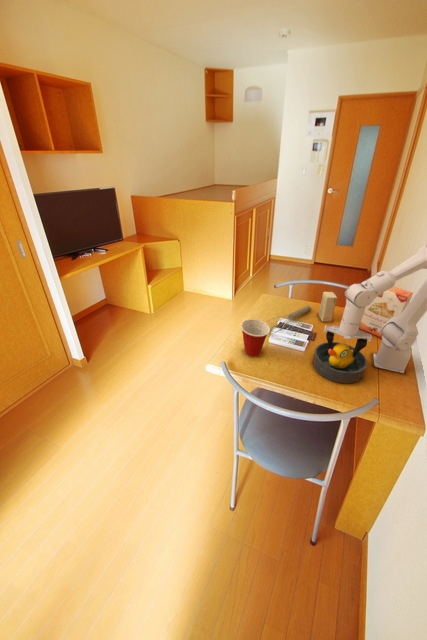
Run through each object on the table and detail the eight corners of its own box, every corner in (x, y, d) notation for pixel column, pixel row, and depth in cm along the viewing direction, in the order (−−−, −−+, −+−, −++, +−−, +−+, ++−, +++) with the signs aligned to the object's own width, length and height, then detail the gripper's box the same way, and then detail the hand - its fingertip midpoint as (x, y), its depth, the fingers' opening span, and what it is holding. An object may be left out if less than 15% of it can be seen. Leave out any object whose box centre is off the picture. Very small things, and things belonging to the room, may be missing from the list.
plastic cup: (262, 364, 106) (266, 337, 99) (235, 356, 110) (236, 330, 103) (270, 348, 114) (274, 322, 108) (244, 341, 118) (246, 315, 112)
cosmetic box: (331, 322, 131) (337, 297, 124) (322, 321, 131) (327, 297, 124) (327, 314, 136) (333, 291, 130) (317, 314, 136) (323, 291, 130)
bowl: (362, 358, 109) (366, 348, 106) (364, 389, 95) (368, 378, 93) (314, 348, 114) (317, 337, 112) (310, 376, 101) (312, 365, 98)
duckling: (327, 373, 101) (334, 352, 95) (318, 363, 105) (325, 342, 100) (355, 368, 103) (364, 347, 98) (345, 358, 108) (353, 337, 102)
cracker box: (356, 328, 127) (370, 284, 116) (362, 323, 130) (376, 280, 119) (389, 342, 118) (408, 296, 107) (395, 336, 121) (414, 291, 110)
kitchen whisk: (316, 311, 139) (318, 299, 136) (272, 339, 120) (273, 326, 116) (305, 306, 143) (307, 295, 139) (260, 332, 123) (262, 320, 120)
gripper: (327, 321, 93) (318, 354, 100) (376, 331, 89) (364, 365, 96) (328, 311, 99) (320, 343, 106) (375, 319, 94) (363, 352, 101)
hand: (341, 352), depth 101 cm, fingers open, 7 cm apart
